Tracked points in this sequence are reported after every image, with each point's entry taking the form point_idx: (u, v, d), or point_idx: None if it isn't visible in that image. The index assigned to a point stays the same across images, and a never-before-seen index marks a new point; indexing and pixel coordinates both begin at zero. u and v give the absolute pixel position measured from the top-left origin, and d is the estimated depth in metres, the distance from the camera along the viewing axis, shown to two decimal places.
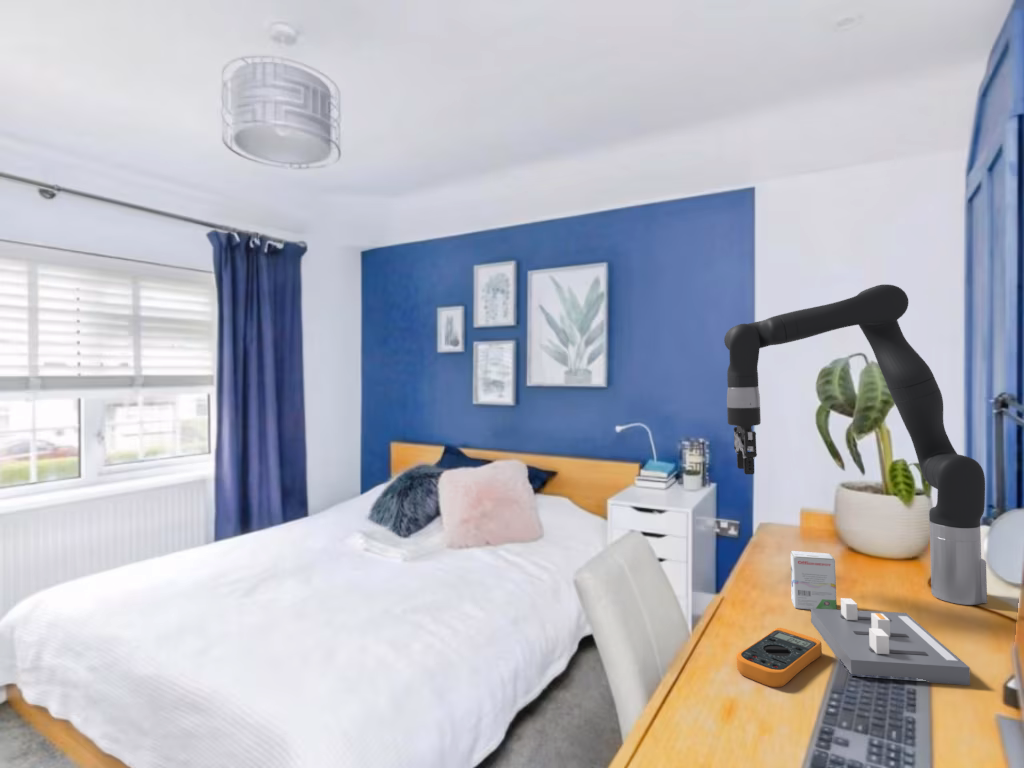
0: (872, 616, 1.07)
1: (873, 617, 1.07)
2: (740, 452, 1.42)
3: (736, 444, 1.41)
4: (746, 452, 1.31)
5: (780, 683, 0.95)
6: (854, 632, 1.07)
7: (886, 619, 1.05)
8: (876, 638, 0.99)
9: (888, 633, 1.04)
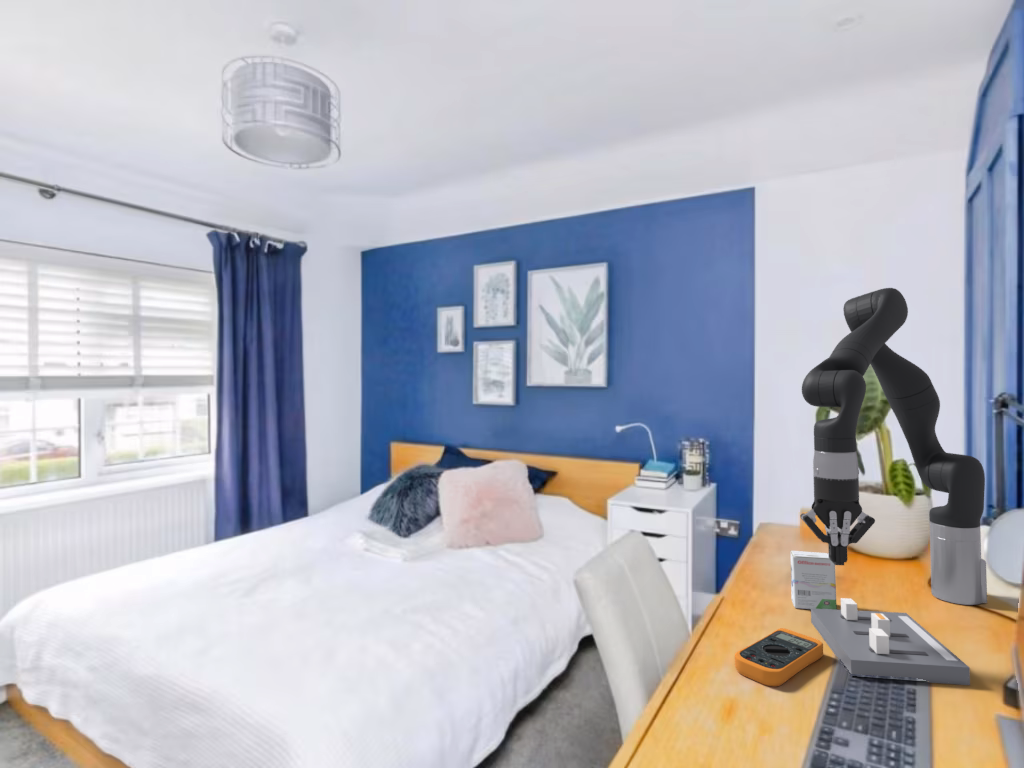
0: (872, 616, 1.07)
1: (873, 617, 1.07)
2: None
3: None
4: None
5: (777, 682, 0.95)
6: (854, 632, 1.07)
7: (886, 619, 1.05)
8: (876, 638, 0.99)
9: (888, 633, 1.04)
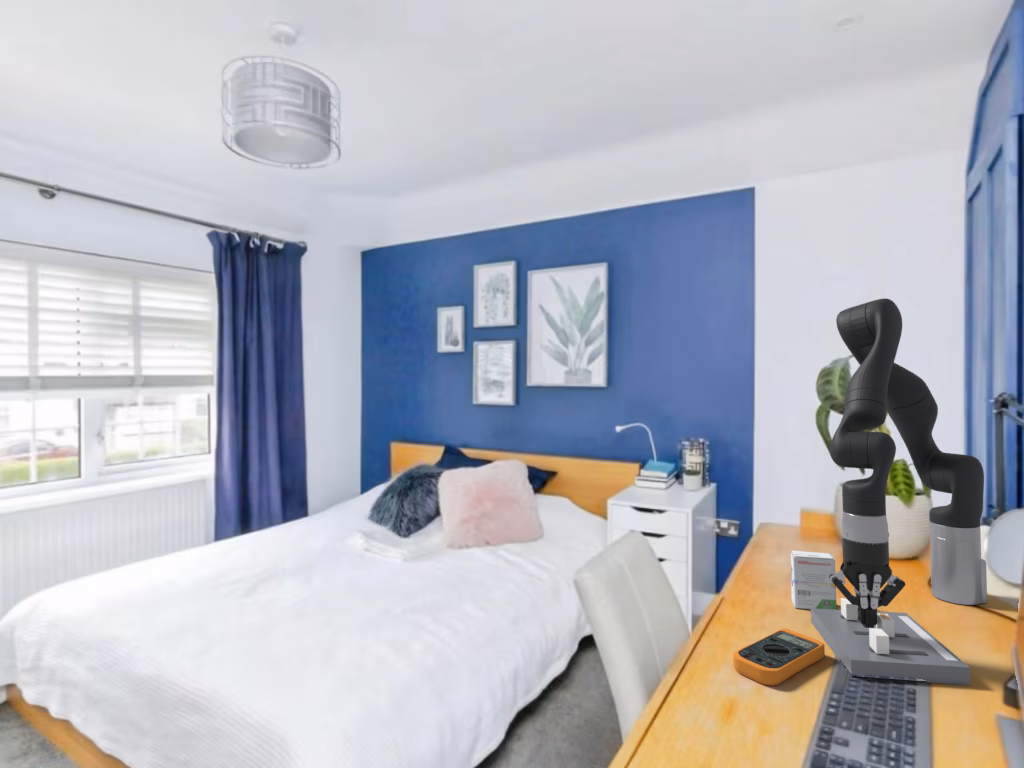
0: None
1: (877, 617, 1.07)
2: None
3: None
4: None
5: (774, 682, 0.95)
6: (854, 632, 1.07)
7: (890, 619, 1.05)
8: (876, 638, 0.99)
9: (892, 633, 1.04)
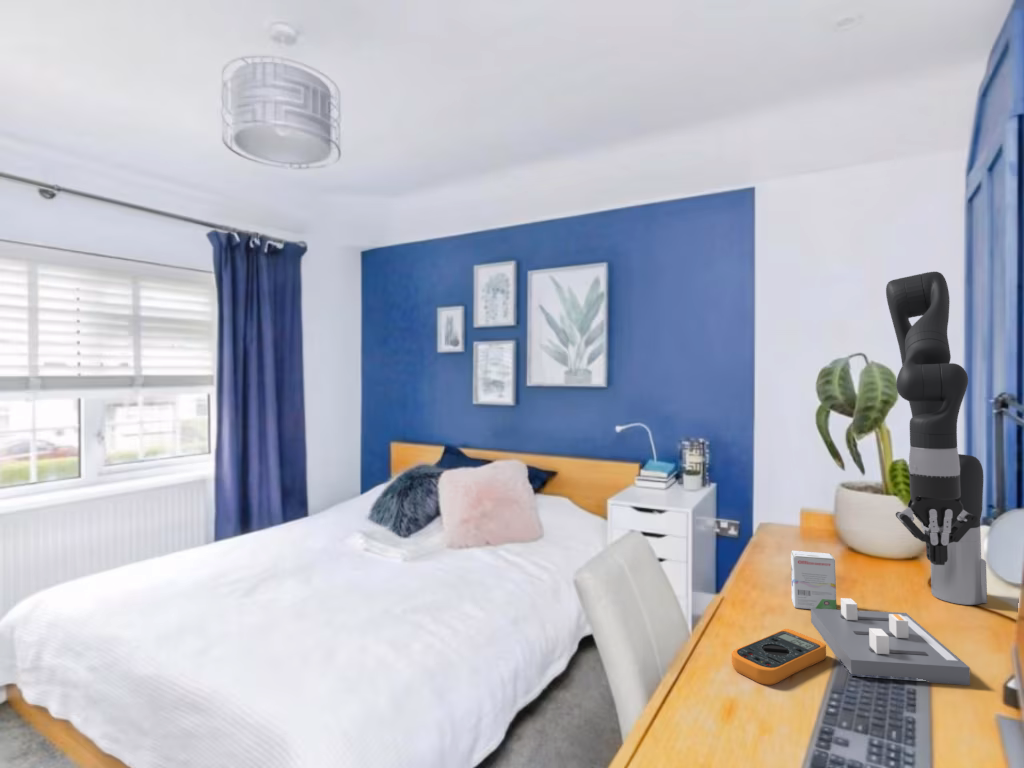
0: (890, 617, 1.07)
1: (891, 618, 1.06)
2: None
3: None
4: None
5: (771, 681, 0.95)
6: (854, 632, 1.07)
7: (904, 620, 1.04)
8: (876, 638, 0.99)
9: (906, 634, 1.04)
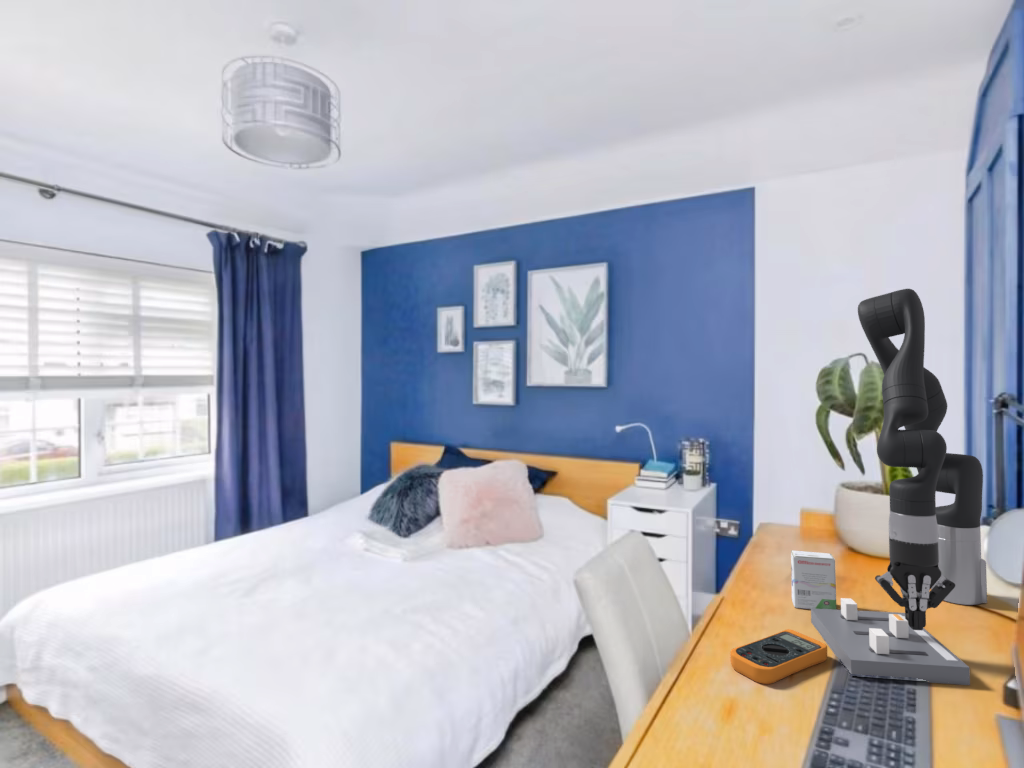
0: (890, 617, 1.07)
1: (891, 618, 1.06)
2: None
3: None
4: None
5: (768, 680, 0.96)
6: (854, 632, 1.07)
7: (904, 620, 1.04)
8: (876, 638, 0.99)
9: (906, 634, 1.04)
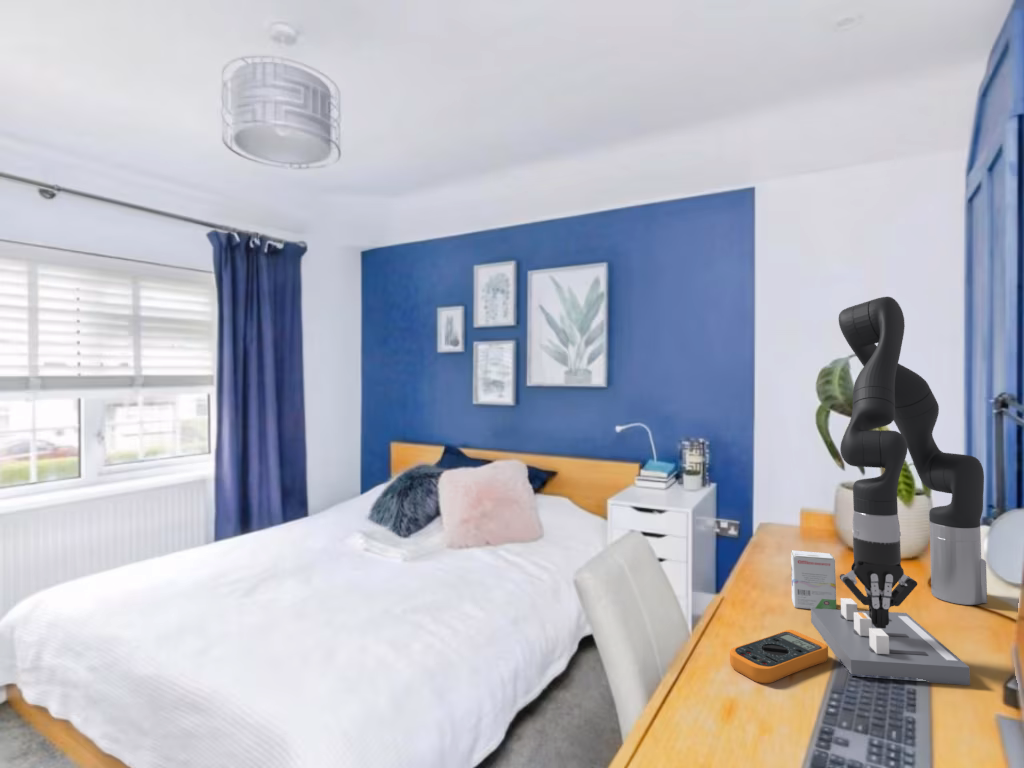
0: (854, 615, 1.08)
1: (855, 616, 1.07)
2: None
3: None
4: None
5: (766, 680, 0.96)
6: (854, 632, 1.07)
7: (868, 618, 1.05)
8: (876, 638, 0.99)
9: None
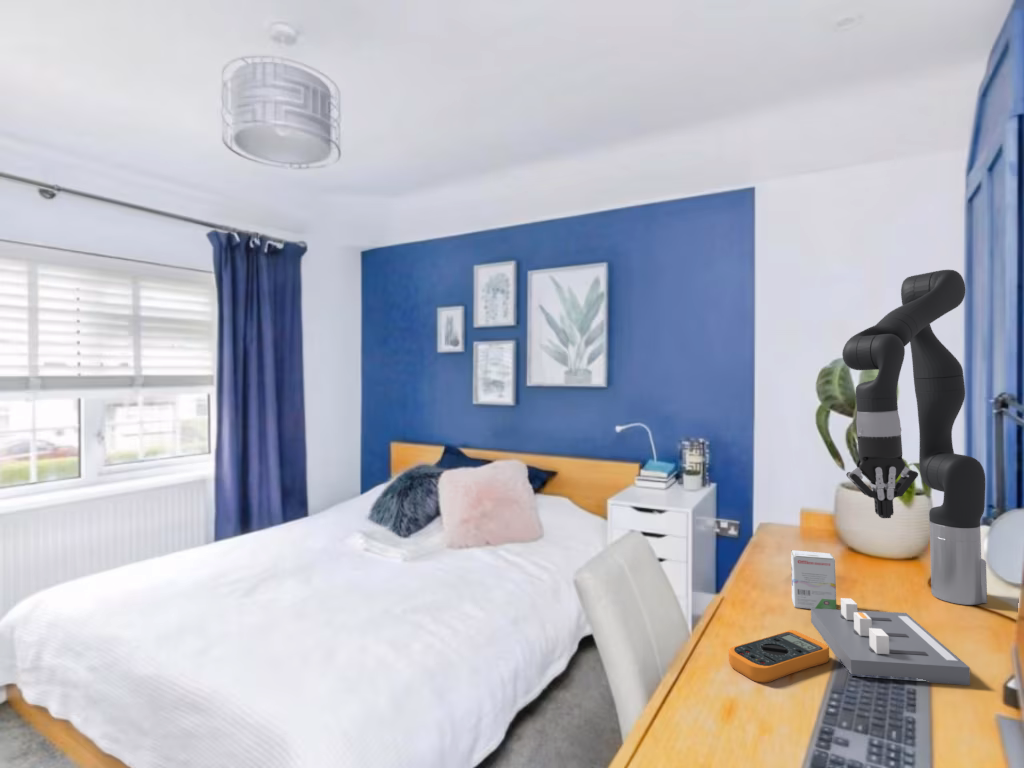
0: (854, 615, 1.08)
1: (855, 616, 1.07)
2: None
3: None
4: None
5: (763, 679, 0.96)
6: (854, 632, 1.07)
7: (868, 618, 1.05)
8: (876, 638, 0.99)
9: None
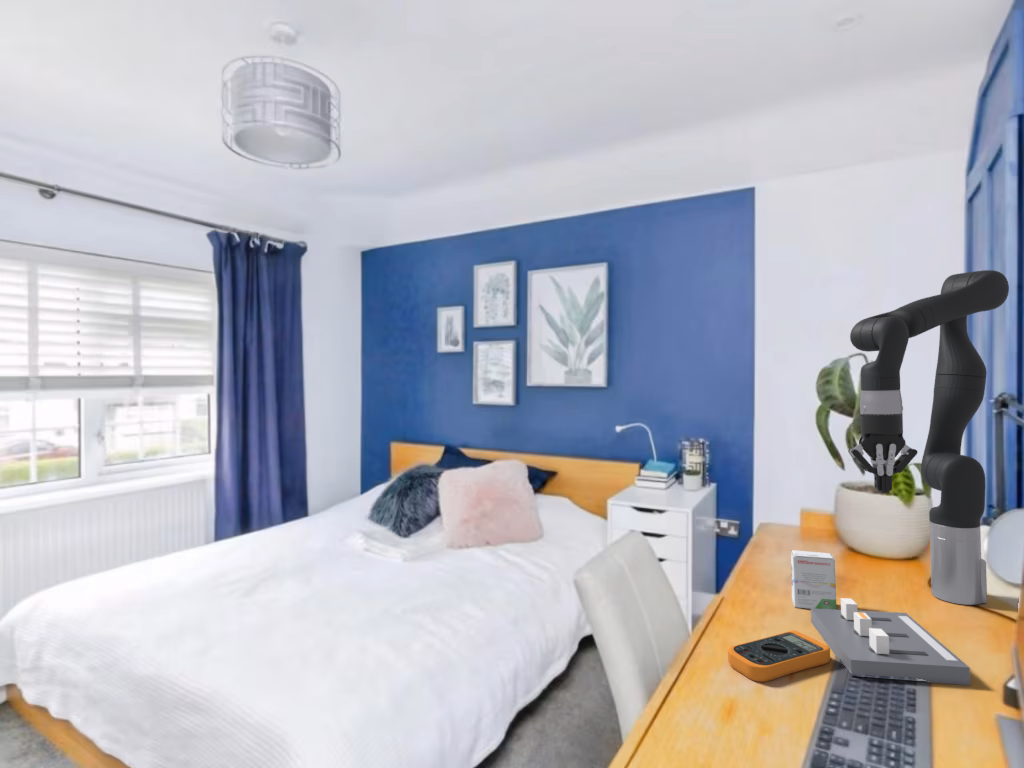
0: (854, 615, 1.08)
1: (855, 616, 1.07)
2: None
3: None
4: None
5: (761, 678, 0.96)
6: (854, 632, 1.07)
7: (868, 618, 1.05)
8: (876, 638, 0.99)
9: None
